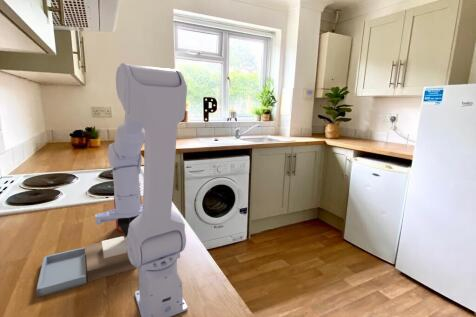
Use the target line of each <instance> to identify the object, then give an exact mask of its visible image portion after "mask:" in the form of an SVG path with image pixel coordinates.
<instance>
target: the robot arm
mask: <svg viewBox="0 0 476 317" xmlns="http://www.w3.org/2000/svg"><path fill="white" fill-rule="evenodd" d="M115 87H116V88H115V89H116V94H117V98H118V99H119V101H120V103H121V106H122V107H123V110H124V113H125V114H124V122H123V123H121V124H119V125H118V127H117V128H116V133H115V138H114V142H112V143H110V144H109V145H108V150H107V158H108V163H109V167H110V168H111V170H112V178H113V179H112V181H113V191H114V194H115V207H116V209H115V207H114V208H113V209H110V210H107V211H103V212H100V213H95V216H94V217H95V225H97V226H98V225H101V224H102V223H107V222H108V223H109V222H113V221H116V220H117V221H118V224H119V226H120V228H121V229H122V230H123V232H122V233H124V235H125V236H124V237H126V247H127V253H128V257H129V260H130V262H131V264H132V265H134V266H135V267H137V275H138V288H139V290H136V291H134V296H135V299H136V303H137V306H138V307H137V308H138V309H139V312H140V313H139V314H140V316H141V317H173V316H176V315H177V314H181V313H182V312H183V313H184V312H185V311H188V306H189V305H188V304H187V302H186V301H185V299H184V296H183V282H182V279H181V277H180V275H179V272H178V260H179V259H180V258H181V252H184V251H185V247H186V245H187V236H186V235H187V234H186V231H185V230H186V229H185V228H186V227H185V226H186V225H185V224H186V223H185V222H184V220H183V218H182V217H181V215H180V214H179V213H178V212H176V211H174V210H171V209H172V207H173V193H174V192H173V190H174V179H175V164H176V152H177V150H176V149H177V136H178V124H179V123H181V122H182V121H183V120H185V115H186V114H185V113H186V108H187V107H186V106H187V94H188V85H187V83H186V80H185V77H184V76H183V73H182V71H181V70H180V69H179V68H172V69H171V68H165V67H163V68H162V67H155V66H146V65H139V64H138V65H136V64H129V63H127V62H121V63H120V64H119V66H118V67H117V69H116V72H115ZM143 146H144V150H143V151H144V152H143V153H144V154H143V155H144V156H143V157H142V152H141V151H142V147H143ZM142 158H143V159H142ZM142 160H143V161H142ZM142 162H143V190H142V192H143V194H142V195H143V196H142V197H143V198H142V200H141V201H140V193H141V188H140V186H141V185H140V175H141V172H142V171H141V170H142V169H141V168H142ZM142 203H143V204H142ZM128 218H129V219H128Z"/></svg>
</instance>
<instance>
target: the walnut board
mask: <svg viewBox="0 0 476 317" xmlns="http://www.w3.org/2000/svg"><path fill="white" fill-rule="evenodd" d="M123 237H124V240H125V243H126V236H123ZM85 257H86V277H87V282H91V281H95V280H98V279H102V278H105V277H108V276H109V277H110V276H113V275H116V274H120V273H122V272H126V271H130V270H134V269H136V268H137V269H138V267H135V266H134V265H132V264H131V262H130V260H129V257H128V253H123V254H119V255H116V256H112V257H108V258H104V256H103V250H102V241H100V242H95V243H91V244H87V245H85Z"/></svg>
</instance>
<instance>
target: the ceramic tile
mask: <svg viewBox="0 0 476 317" xmlns="http://www.w3.org/2000/svg"><path fill="white" fill-rule="evenodd" d="M124 237H125V236H124V235H123V236H122V235H121V236H119V237H118V236H117V237H114V238H109V239H105V240H101V242H102V250H103V256H104V258H108V257H112V256H116V255H119V254H123V253H127V247H126V243H125V240H124Z"/></svg>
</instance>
